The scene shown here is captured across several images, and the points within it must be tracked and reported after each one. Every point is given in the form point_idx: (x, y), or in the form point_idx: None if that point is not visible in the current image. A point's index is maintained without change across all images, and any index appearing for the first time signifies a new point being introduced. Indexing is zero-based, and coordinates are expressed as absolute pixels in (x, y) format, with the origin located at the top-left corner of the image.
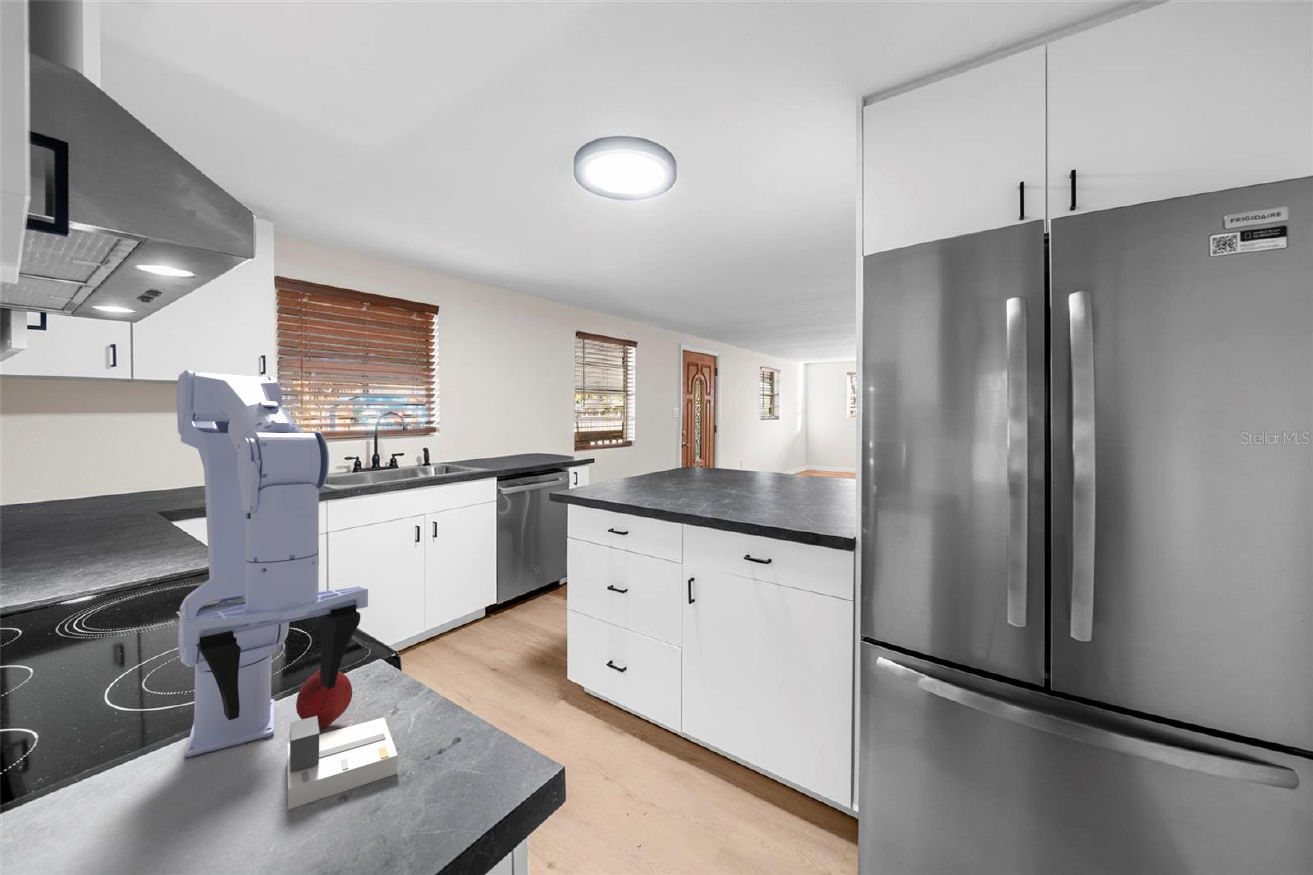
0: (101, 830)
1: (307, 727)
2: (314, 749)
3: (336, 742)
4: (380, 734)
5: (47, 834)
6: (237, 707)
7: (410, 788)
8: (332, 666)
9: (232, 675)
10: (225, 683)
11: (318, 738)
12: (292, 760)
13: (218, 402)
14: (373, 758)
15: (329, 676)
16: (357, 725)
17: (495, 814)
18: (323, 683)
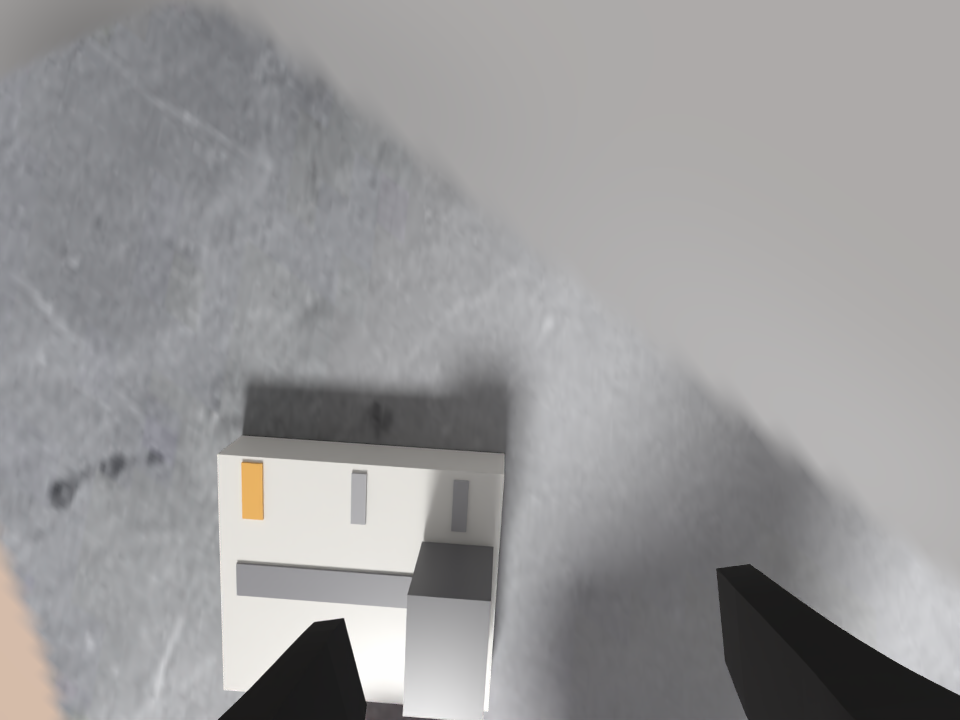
0: (861, 638)
1: (437, 657)
2: (428, 568)
3: (366, 632)
4: (246, 594)
5: None
6: (744, 588)
7: (221, 346)
8: (283, 689)
9: (880, 702)
10: (892, 669)
11: (412, 586)
12: (488, 564)
13: None
14: (282, 479)
15: (316, 652)
16: None
17: (37, 82)
18: (355, 684)
